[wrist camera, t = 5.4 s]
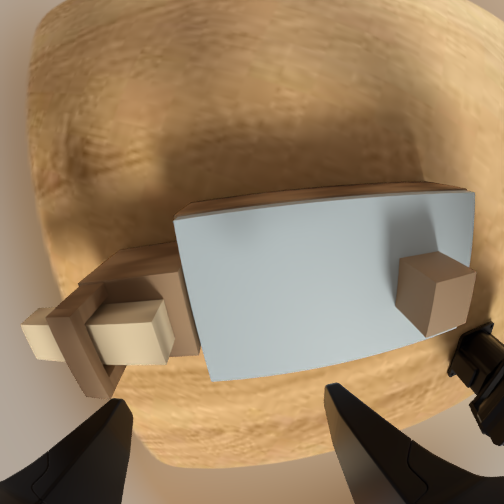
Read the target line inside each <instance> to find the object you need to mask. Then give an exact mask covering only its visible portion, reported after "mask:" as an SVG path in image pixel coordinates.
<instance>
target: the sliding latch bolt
mask: <svg viewBox="0 0 504 504" xmlns="http://www.w3.org/2000/svg"><path fill="white" fill-rule="evenodd" d="M55 308H56V307H49V308H38V309H37V310H36V311H35V312H34V313H33V314H32V315H30V316H29V317H28V318H27V319H26V320H25V321H24V322H23V323H22V324H21V328H22V330H23V332H24V334H25V336H26V338H27V340H28V342H29V344H30V347H31V349H32V350H33V352H34V354H35V356H36V358H37V359H42V360H51V361H60V362H66V361H65V359H64V357H63V355H62V353H61V351H60V349H59V347H58V345H57V343H56V341H55V339H54V337H53V334H52V332H51V330H50V328H49V325H48V323H47V321H46V318H45V317H46V316H47V315H48V314H49V313H51V312H52V311H53V310H54V309H55ZM84 325H85V327H86V329H87V332H88V334H89V337H90V339H91V341H92V343H93V346H94V348H95V350H96V352H97V354H98V356H99V359H100V361H101V363H102V364H105V365H167V362H168V359H169V356H170V352H171V349H172V346H173V343H174V340H175V337H174V334H173V331H172V327H171V324H170V321H169V317H168V314H167V310H166V307H165V303H164V300H163V299H162V300H151V301H139V302H127V303H115V304H101V305H100V306H99V307H98V309H97V310H96V311H95V312H94V313H93V314H92V316H91V317H90V318H89V319H88V320H87V321H86V323H85V324H84Z"/></svg>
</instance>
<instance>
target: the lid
mask: <svg viewBox="0 0 504 504" xmlns="http://www.w3.org/2000/svg"><path fill="white" fill-rule="evenodd" d="M474 212H475V192H471V191H466V190H457V191H426V192H405V193H388V194H373V195H359V196H346V197H335V198H324V199H313V200H303V201H294V202H285V203H276V204H267V205H259V206H251V207H243V208H235V209H228V210H221V211H214V212H207V213H200V214H193V215H187V216H180V217H177V218H176V219H175V220H174V221H173V222H174V227H175V233H176V238H177V243H178V248H179V253H180V258H181V263H182V268H183V272H184V277H185V282H186V286H187V290H188V295H189V299H190V303H191V307H192V312H193V316H194V320H195V324H196V327H197V331H198V335H199V339H200V343H201V346H202V350H203V354H204V357H205V361H206V364H207V368H208V371H209V375H210V378H211V381H212V382H213V381H227V380H238V379H248V378H256V377H265V376H272V375H279V374H286V373H292V372H298V371H304V370H310V369H315V368H320V367H325V366H330V365H335V364H340V363H344V362H348V361H353V360H357V359H361V358H365V357H369V356H373V355H376V354H380V353H384V352H387V351H391V350H394V349H397V348H401V347H404V346H407V345H410V344H413V343H416V342H419V341H422V340H425V339H428V338H431V337H434V336H437V335H439V334H442V333H445V332H448V331H450V330H453V329H455V328H457V326H460V325H462V324H464V323H466V319H467V316H468V312H469V307H470V303H471V299H472V294H473V289H474V284H475V279H476V273H477V272H476V271H474V270H473V269H471V268H469V265H470V258H471V250H472V240H473V229H474Z"/></svg>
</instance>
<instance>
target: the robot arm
mask: <svg viewBox="0 0 504 504" xmlns="http://www.w3.org/2000/svg"><path fill="white" fill-rule="evenodd" d="M493 326H494V323H493V322H492V321H491V322H489V323H487V324H484V325H482V326H480V327H478V328H476V329H474V330H471V331H469V332H467V333H465V334H463V335H462V336H461V337H460V340H459V343H458V347H457V350H456V353H455V356H454V358H453V361H452V364H451V367H450V369H449V372H448V376H449V377H452V376H454V375H457V376H458V377H459V378H460V379H461V380H462V382H463V383H464V384H465V385H466V386H467V387H468V388H469V387H470V388H471V389H472V390H473V392H474V393H475V394H476V395H477V396H476V397H475V398H474V400H473V401H472V402H471V403H470V404H469V406H470V408H471V411H472V413H473V415H474V417H475V419H476V421H477V423H478V426H479V428H480V430H481V432H482V433H483V434H486V435H487V436H489V437H490V438H491V440H492V442H493V443H494V444H495V445H498V446H502V445H503V446H504V344H502V343H501V342H500V341H499V340H498V339H497V338H495V337H494V336H493V335H492V334H491V332H492V329H493ZM324 407H325V411H326V416H327V420H328V425H329V429H330V434H331V438H332V442H333V446H334V449H335V452H336V454H337V457H338V459H339V462H340V465H341V468H342V470H343V473H344V476H345V478H346V481H347V484H348V486H349V489H350V492H351V494H352V497H353V500H354V503H355V504H504V476H500V477H484V476H479V475H476V474H473V473H471V472H469V471H466V470H464V469H462V468H460V467H458V466H456V465H454V464H452V463H449V462H447V461H445V460H443V459H442V458H440V457H438V456H436V455H434V454H432V453H431V452H429V451H428V450H426V449H425V448H423V447H422V446H420V445H419V444H418V443H416V442H415V441H414V440H412V441H411V438H409V437H407V436H406V435H405V434H404V433H402V432H401V431H400V430H398V429H397V428H396V427H394V426H393V425H392V424H390V423H389V422H388V421H386V420H385V419H384V418H382V417H381V416H380V415H379V414H377V413H376V412H375V411H373V410H372V409H371V408H369V407H368V406H367V405H366V404H364V403H363V402H362V401H361V400H359V399H358V398H357V397H355V396H354V395H353V394H352V393H350V392H349V391H348V390H347V389H345V388H344V387H343V386H342V385H341V384H339V383H332V384H328V385H326V386H325V392H324ZM132 426H133V415H132V412H131V411H130V409H129V407H128V406H127V404H126V402H125V401H124V400H123V399H118V398H112V399H111V400H109V401H108V402H107V403H106V404H105V405H104V406H102V407H101V408H100V409H99V410H98V411H96V412H95V413H94V414H93V415H92V416H90V417H89V418H88V419H87V420H85V421H84V422H83V423H82V424H81V425H79V426H78V427H77V428H76V429H75V430H73V431H72V432H71V433H70V434H69V435H67V436H66V437H65V438H63V439H62V440H61V441H60V442H59V443H57V444H56V445H55V446H54V447H52V448H51V449H50V450H49V452H48V451H47V452H46V453H45V454H43V455H42V456H41V457H40V458H38V459H37V460H36V461H34V462H33V463H31V464H30V465H29V466H27V467H25V468H24V469H22V470H21V471H19V472H17V473H16V474H14V475H12V476H11V477H9V478H7V479H5V480H3V481H1V482H0V504H121V502H122V495H123V489H124V483H125V478H126V472H127V466H128V462H129V456H130V447H131V437H132Z"/></svg>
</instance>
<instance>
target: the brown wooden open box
mask: <svg viewBox="0 0 504 504" xmlns="http://www.w3.org/2000/svg"><path fill="white" fill-rule="evenodd" d="M457 190H466V191H467V189H465V188H460V187H455V186H449V185H444V184H438V183H432V182H426V181H424V182H391V183H370V184H354V185H339V186H327V187H315V188H304V189H294V190H284V191H275V192H266V193H257V194H249V195H241V196H234V197H227V198H219V199H212V200H206V201H199V202H193V203H190V204H188V205H187V206H186V207H184V208H183V209H182V210H180V211H179V212H178V213H176V214H175V215H174V220H175V219H176V218H177V217H180V216H187V215H193V214H200V213H207V212H214V211H221V210H228V209H235V208H243V207H251V206H259V205H267V204H276V203H285V202H294V201H303V200H313V199H324V198H335V197H346V196H359V195H373V194H388V193H405V192H426V191H457ZM78 285H79V287H78V288H77V289H76V290H75V291H74V292H73V293H71V294H70V295H69V296H68V297H67V298H66V299H65V300H64V301H62V302H61V303H60V305H58V306H57V307H56V308H55V309H54V310H53V311H52V312H51V313H49V314H48V315H47V316H46V317H45V318H46V321H47V323H48V325H49V328H50V330H51V332H52V334H53V337H54V339H55V341H56V343H57V345H58V347H59V349H60V351H61V353H62V355H63V357H64V359H65V361H66V363H67V365H68V367H69V368H70V370H71V372H72V374H73V376H74V377H75V379H76V381H77V383H78V384H79V386H80V388H81V389H82V391H83V393H84V394H85V396H86V397H92V398H101V399H111V397H112V395H113V393H114V391H115V389H116V386H117V384H118V382H119V380H120V378H121V376H122V374H123V372H124V370H125V368H126V366H127V365H105V364H102V363H101V361H100V359H99V356H98V354H97V352H96V350H95V348H94V346H93V343H92V341H91V339H90V337H89V334H88V332H87V329H86V327H85V325H84V324H85V323H86V321H87V320H88V319H89V318H90V317H91V316H92V314H93V313H94V312H95V311H96V310H97V309H98V307H99V306H100V305H101V304H115V303H127V302H139V301H151V300H162V299H163V300H164V303H165V307H166V310H167V314H168V317H169V321H170V324H171V327H172V331H173V334H174V337H175V340H174V343H173V346H172V349H171V352H170V356H169V357H179V356H196V355H199V352H200V347H201V343H200V339H199V335H198V331H197V327H196V324H195V320H194V316H193V312H192V307H191V303H190V299H189V295H188V290H187V286H186V282H185V277H184V272H183V268H182V263H181V258H180V253H179V248H178V243H177V241H176V242H169V243H162V244H155V245H149V246H142V247H136V248H129V249H123V250H119V251H118V252H116V253H115V254H114V255H113V256H111V257H110V258H109V259H108V260H106V261H105V262H104V263H102V264H101V265H100V266H99V267H97V268H96V269H95V270H94V271H93V272H91V273H90V274H89V275H88V276H86V277H85V278H84V279H83V280H82V281H80V282H79V283H78Z"/></svg>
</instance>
